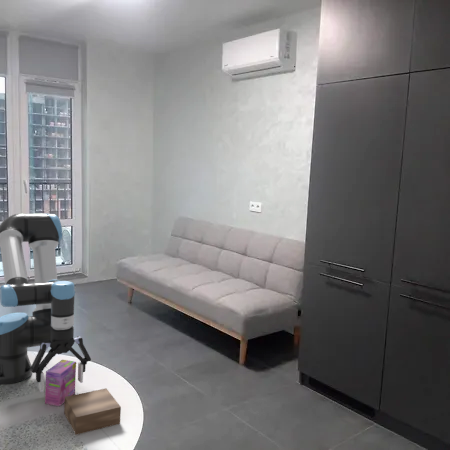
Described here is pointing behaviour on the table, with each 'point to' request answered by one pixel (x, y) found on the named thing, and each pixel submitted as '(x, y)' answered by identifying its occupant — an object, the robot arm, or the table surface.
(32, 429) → the table surface
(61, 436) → the table surface
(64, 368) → the box
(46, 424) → the table surface
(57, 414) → the table surface
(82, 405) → the walnut block
